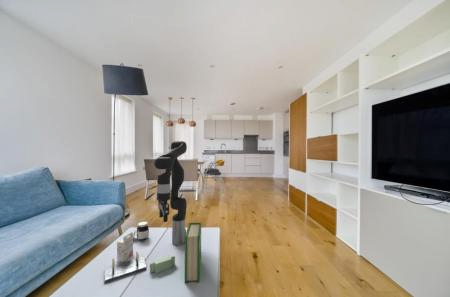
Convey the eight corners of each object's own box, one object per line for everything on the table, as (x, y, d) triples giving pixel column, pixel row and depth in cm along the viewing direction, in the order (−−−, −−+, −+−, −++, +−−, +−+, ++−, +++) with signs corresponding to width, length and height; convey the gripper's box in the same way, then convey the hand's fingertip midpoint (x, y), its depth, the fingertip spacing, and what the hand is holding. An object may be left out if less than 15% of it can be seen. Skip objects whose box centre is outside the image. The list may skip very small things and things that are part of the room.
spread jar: (150, 239, 140) (150, 223, 140) (134, 244, 132) (134, 228, 133) (144, 233, 149) (144, 219, 149) (129, 238, 141) (129, 223, 141)
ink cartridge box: (126, 253, 120) (126, 230, 121) (133, 254, 119) (133, 231, 120) (116, 260, 112) (116, 236, 112) (123, 261, 111) (123, 237, 111)
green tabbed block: (173, 262, 111) (173, 253, 111) (175, 266, 107) (175, 257, 107) (149, 270, 103) (149, 261, 103) (150, 274, 99) (150, 265, 100)
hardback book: (199, 282, 94) (199, 235, 95) (184, 283, 94) (185, 236, 94) (200, 261, 112) (201, 222, 112) (188, 262, 111) (189, 222, 112)
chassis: (142, 259, 114) (142, 246, 114) (146, 269, 104) (146, 256, 104) (104, 270, 103) (104, 257, 103) (104, 283, 93) (104, 268, 93)
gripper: (174, 193, 102) (173, 222, 102) (166, 188, 114) (166, 214, 114) (160, 194, 98) (159, 224, 98) (154, 189, 110) (153, 216, 110)
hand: (163, 219), depth 106 cm, fingers open, 8 cm apart
